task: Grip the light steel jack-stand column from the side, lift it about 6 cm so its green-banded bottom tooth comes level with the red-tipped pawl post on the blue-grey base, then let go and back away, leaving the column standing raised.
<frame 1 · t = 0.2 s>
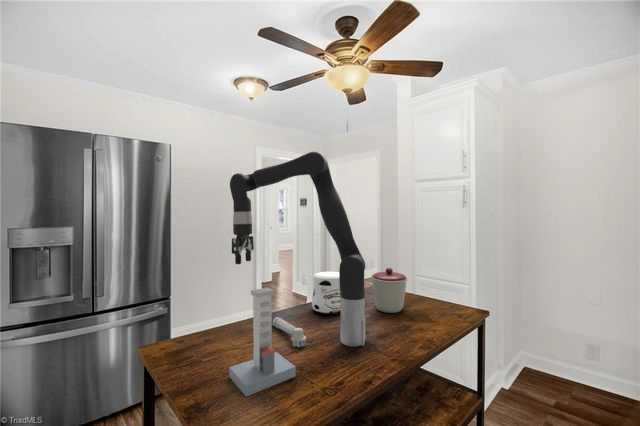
hand: (243, 262, 124), 29 cm above the table, tool pointing down, fingers open, 8 cm apart
toothbrush head: (288, 336, 122), on the table
milk container: (329, 311, 151), on the table
column: (263, 329, 91), point 15 cm above the table, slide at 0.0 cm
canister: (388, 310, 152), on the table
stand base: (262, 376, 92), on the table
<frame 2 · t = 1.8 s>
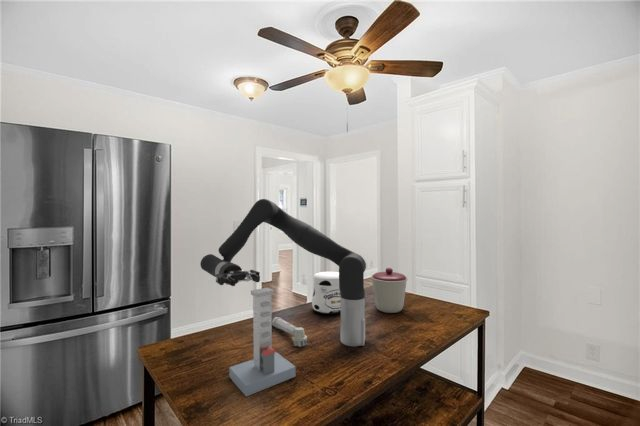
hand: (246, 281, 100), 27 cm above the table, tool horizontal, fingers open, 8 cm apart
nothing on the table moved.
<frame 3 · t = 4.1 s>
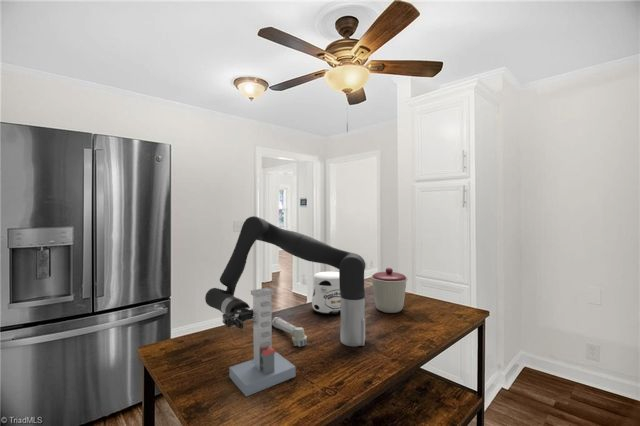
hand: (255, 322, 96), 15 cm above the table, tool horizontal, fingers open, 8 cm apart
nothing on the table moved.
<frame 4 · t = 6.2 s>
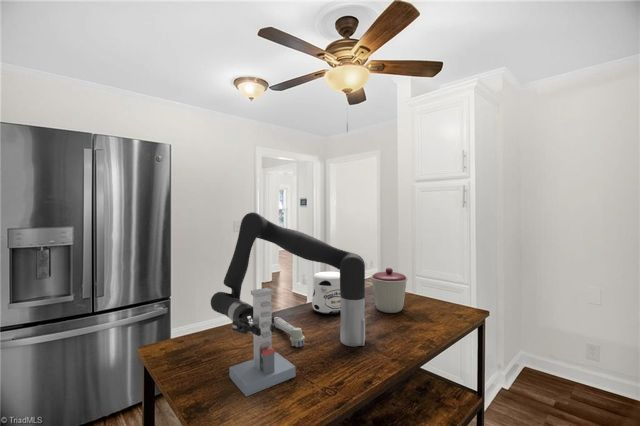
hand: (266, 330, 89), 15 cm above the table, tool horizontal, fingers closed on column, 4 cm apart
column: (263, 329, 91), point 15 cm above the table, slide at 0.0 cm, touching gripper
everything else where it was.
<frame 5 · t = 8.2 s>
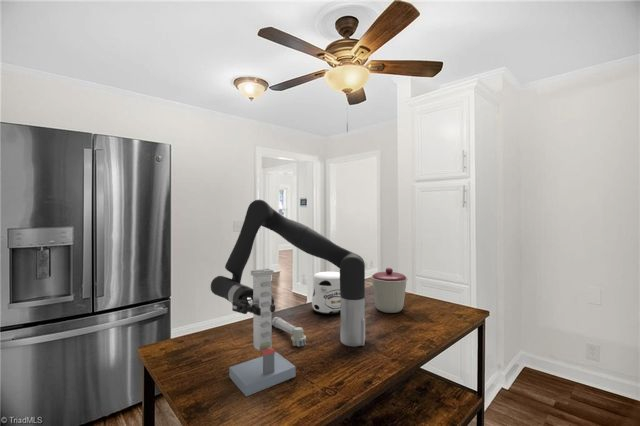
hand: (266, 310, 89), 21 cm above the table, tool horizontal, fingers closed on column, 4 cm apart
column: (262, 309, 91), point 21 cm above the table, slide at 5.9 cm, touching gripper
everything else where it was.
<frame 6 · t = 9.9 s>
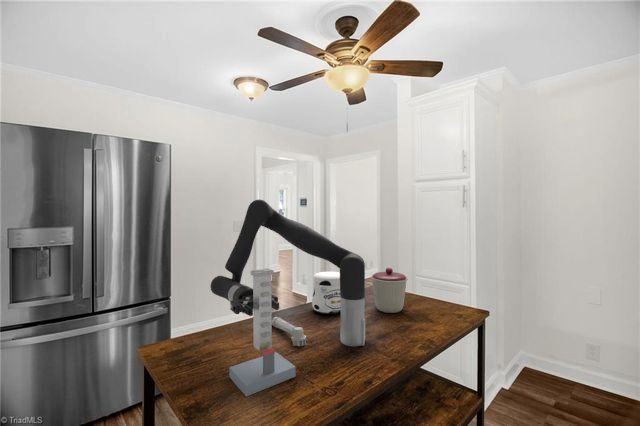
hand: (265, 309, 90), 21 cm above the table, tool horizontal, fingers open, 8 cm apart
column: (262, 309, 91), point 21 cm above the table, slide at 6.0 cm
everything else where it was.
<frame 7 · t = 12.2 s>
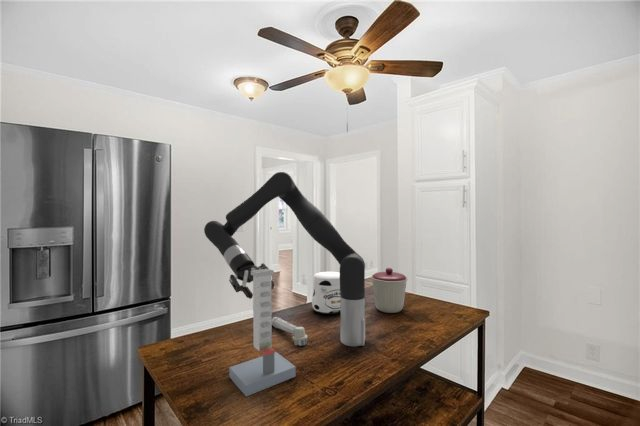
hand: (262, 292, 103), 23 cm above the table, tool tilted 55°, fingers open, 8 cm apart
nothing on the table moved.
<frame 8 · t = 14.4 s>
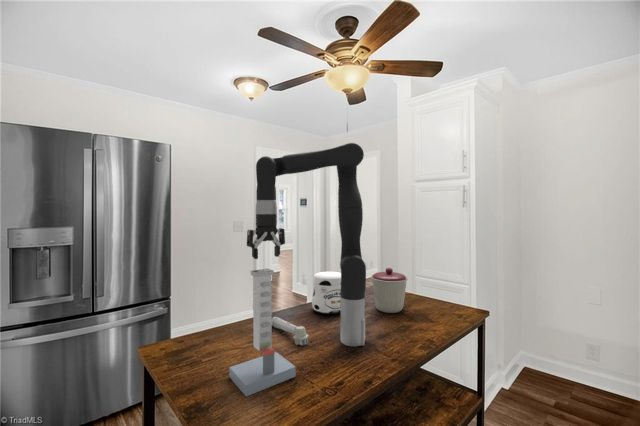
hand: (266, 257, 110), 33 cm above the table, tool pointing down, fingers open, 8 cm apart
nothing on the table moved.
at the end: column slide at 6.0 cm; the gripper is holding nothing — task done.
